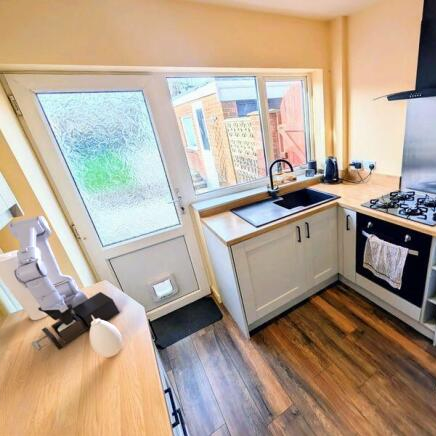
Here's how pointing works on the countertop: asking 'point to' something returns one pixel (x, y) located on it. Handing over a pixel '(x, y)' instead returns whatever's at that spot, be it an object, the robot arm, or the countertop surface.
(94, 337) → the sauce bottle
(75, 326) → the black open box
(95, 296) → the black drawer box
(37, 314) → the cylinder container
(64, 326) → the grey short cylinder
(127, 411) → the countertop surface
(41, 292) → the robot arm
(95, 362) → the countertop surface
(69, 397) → the countertop surface
